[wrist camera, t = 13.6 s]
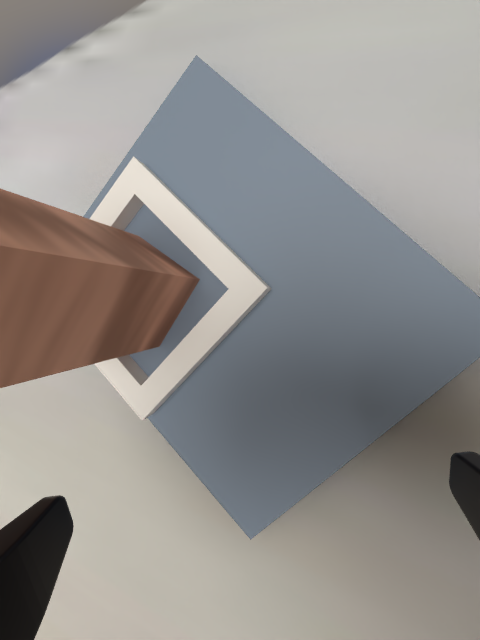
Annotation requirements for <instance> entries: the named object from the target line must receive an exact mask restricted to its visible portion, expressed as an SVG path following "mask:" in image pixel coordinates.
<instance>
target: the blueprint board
mask: <svg viewBox="0 0 480 640" xmlns="http://www.w3.org/2000/svg"><path fill="white" fill-rule="evenodd" d="M84 217H85V218H88V219H91V220H93V221H96V222H99V223H102V224H105V225H108V226H111V227H114V228H117V229H120V230H123V231H126V232H129V233H132V234H134V235H137V236H139V237H141V238H142V239H144V240H145V241H147V242H148V243H149V244H151V245H152V246H154V247H155V248H156V249H158V250H159V251H161V252H162V253H163V254H165V255H166V256H168V257H169V258H170V259H172V260H173V261H175V262H176V263H177V264H179V265H180V266H182V267H183V268H185V269H186V270H187V271H189V272H190V273H192V274H193V275H194V276H196V277H197V278H199V279H200V280H199V282H198V283H197V285H196V287H195V288H194V290H193V292H192V293H191V295H190V297H189V298H188V300H187V302H186V303H185V305H184V307H183V308H182V310H181V312H180V313H179V315H178V317H177V318H176V320H175V322H174V323H173V325H172V327H171V328H170V330H169V331H168V333H167V335H166V336H165V338H164V340H163V341H162V343H161V345H160V346H159V347H156V348H152V349H148V350H145V351H141V352H137V353H133V354H129V355H125V356H122V357H118V358H114V359H110V360H106V361H102V362H99V363H95V365H96V366H97V368H98V369H99V370H100V371H101V372H102V374H103V375H104V376H105V377H106V378H107V380H108V381H109V382H110V383H111V384H112V385H113V387H114V388H115V389H116V390H117V391H118V393H119V394H120V395H121V396H122V397H123V399H124V400H125V401H126V402H127V403H128V405H129V406H130V407H131V408H132V409H133V410H134V412H135V413H136V414H137V415H138V416H139V418H140V419H141V420H144V419H146V418H148V419H149V420H150V421H151V422H152V424H153V425H154V426H155V427H156V428H157V430H158V431H159V432H160V433H161V434H162V435H163V437H164V438H165V439H166V440H167V441H168V443H169V444H170V445H171V446H172V447H173V448H174V450H175V451H176V452H177V453H178V454H179V456H180V457H181V458H182V459H183V460H184V461H185V463H186V464H187V465H188V466H189V467H190V469H191V470H192V471H193V472H194V473H195V474H196V476H197V477H198V478H199V479H200V480H201V482H202V483H203V484H204V485H205V486H206V487H207V489H208V490H209V491H210V492H211V493H212V495H213V496H214V497H215V498H216V499H217V500H218V502H219V503H220V504H221V505H222V506H223V508H224V509H225V510H226V511H227V512H228V513H229V515H230V516H231V517H232V518H233V519H234V521H235V522H236V523H237V524H238V525H239V526H240V528H241V529H242V530H243V531H244V532H245V534H246V535H247V536H248V537H249V538H250V540H251V539H252V538H253V537H254V536H256V535H257V534H258V533H259V532H261V531H262V530H263V529H264V528H266V527H267V526H268V525H270V524H271V523H272V522H273V521H275V520H276V519H277V518H278V517H280V516H281V515H282V514H283V513H285V512H286V511H287V510H288V509H290V508H291V507H292V506H293V505H295V504H296V503H297V502H298V501H300V500H301V499H302V498H303V497H305V496H306V495H307V494H308V493H310V492H311V491H312V490H314V489H315V488H316V487H317V486H319V485H320V484H321V483H322V482H324V481H325V480H326V479H327V478H329V477H330V476H331V475H332V474H334V473H335V472H336V471H337V470H339V469H340V468H341V467H342V466H344V465H345V464H346V463H347V462H349V461H350V460H351V459H353V458H354V457H355V456H356V455H358V454H359V453H360V452H361V451H363V450H364V449H365V448H366V447H368V446H369V445H370V444H371V443H373V442H374V441H375V440H376V439H378V438H379V437H380V436H381V435H383V434H384V433H385V432H386V431H388V430H389V429H390V428H392V427H393V426H394V425H395V424H397V423H398V422H399V421H400V420H402V419H403V418H404V417H405V416H407V415H408V414H409V413H410V412H412V411H413V410H414V409H415V408H417V407H418V406H419V405H420V404H422V403H423V402H424V401H425V400H427V399H428V398H429V397H431V396H432V395H433V394H434V393H436V392H437V391H438V390H439V389H441V388H442V387H443V386H444V385H446V384H447V383H448V382H449V381H451V380H452V379H453V378H454V377H456V376H457V375H458V374H459V373H461V372H462V371H463V370H464V369H466V368H467V367H468V366H470V365H471V364H472V363H473V362H475V361H476V360H477V359H478V358H480V297H479V296H477V295H476V294H475V293H474V292H473V291H472V290H470V289H469V288H468V287H467V286H466V285H465V284H463V283H462V282H461V281H460V280H459V279H458V278H456V277H455V276H454V275H453V274H452V273H451V272H449V271H448V270H447V269H446V268H445V267H444V266H442V265H441V264H440V263H439V262H438V261H437V260H435V259H434V258H433V257H432V256H431V255H430V254H428V253H427V252H426V251H425V250H424V249H422V248H421V247H420V246H419V245H418V244H417V243H415V242H414V241H413V240H412V239H411V238H410V237H408V236H407V235H406V234H405V233H404V232H403V231H401V230H400V229H399V228H398V227H397V226H396V225H394V224H393V223H392V222H391V221H390V220H389V219H387V218H386V217H385V216H384V215H383V214H382V213H380V212H379V211H378V210H377V209H376V208H375V207H373V206H372V205H371V204H370V203H369V202H367V201H366V200H365V199H364V198H363V197H362V196H360V195H359V194H358V193H357V192H356V191H355V190H353V189H352V188H351V187H350V186H349V185H348V184H346V183H345V182H344V181H343V180H342V179H341V178H339V177H338V176H337V175H336V174H335V173H334V172H332V171H331V170H330V169H329V168H328V167H327V166H325V165H324V164H323V163H322V162H321V161H320V160H318V159H317V158H316V157H315V156H314V155H312V154H311V153H310V152H309V151H308V150H307V149H305V148H304V147H303V146H302V145H301V144H300V143H298V142H297V141H296V140H295V139H294V138H293V137H291V136H290V135H289V134H288V133H287V132H286V131H284V130H283V129H282V128H281V127H280V126H279V125H277V124H276V123H275V122H274V121H273V120H272V119H270V118H269V117H268V116H267V115H266V114H265V113H263V112H262V111H261V110H260V109H259V108H257V107H256V106H255V105H254V104H253V103H252V102H250V101H249V100H248V99H247V98H246V97H245V96H243V95H242V94H241V93H240V92H239V91H238V90H236V89H235V88H234V87H233V86H232V85H231V84H229V83H228V82H227V81H226V80H225V79H224V78H222V77H221V76H220V75H219V74H218V73H217V72H215V71H214V70H213V69H212V68H211V67H210V66H208V65H207V64H206V63H205V62H204V61H202V60H201V59H200V58H199V57H198V56H197V55H196V56H195V58H194V59H193V61H192V62H191V63H190V65H189V66H188V68H187V69H186V71H185V72H184V73H183V75H182V76H181V78H180V79H179V81H178V82H177V83H176V85H175V86H174V88H173V89H172V91H171V92H170V93H169V95H168V96H167V98H166V99H165V101H164V102H163V103H162V105H161V106H160V108H159V109H158V111H157V112H156V114H155V115H154V116H153V118H152V119H151V121H150V122H149V124H148V125H147V126H146V128H145V129H144V131H143V132H142V134H141V135H140V136H139V138H138V139H137V141H136V142H135V144H134V145H133V146H132V148H131V149H130V151H129V152H128V154H127V155H126V156H125V158H124V159H123V161H122V162H121V164H120V165H119V166H118V168H117V169H116V171H115V172H114V174H113V175H112V176H111V178H110V179H109V181H108V182H107V184H106V185H105V187H104V188H103V189H102V191H101V192H100V194H99V195H98V197H97V198H96V199H95V201H94V202H93V204H92V205H91V207H90V208H89V209H88V211H87V212H86V214H85V215H84Z"/></svg>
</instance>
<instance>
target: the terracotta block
mask: <svg viewBox="0 0 480 640" xmlns="http://www.w3.org/2000/svg"><path fill="white" fill-rule="evenodd" d="M199 280H200V279H199V278H197V277H196V276H194V275H193V274H192V273H190V272H189V271H187V270H186V269H185V268H183V267H182V266H180V265H179V264H177V263H176V262H175V261H173V260H172V259H170V258H169V257H168V256H166V255H165V254H163V253H162V252H161V251H159V250H158V249H156V248H155V247H154V246H152V245H151V244H149V243H148V242H147V241H145V240H144V239H142V238H141V237H139V236H137V235H134V234H132V233H129V232H126V231H123V230H120V229H117V228H114V227H111V226H108V225H105V224H102V223H99V222H96V221H93V220H91V219H88V218H85V217H82V216H79V215H76V214H73V213H70V212H67V211H64V210H61V209H58V208H55V207H52V206H50V205H47V204H44V203H41V202H38V201H35V200H32V199H29V198H26V197H23V196H20V195H17V194H14V193H11V192H8V191H6V190H3V189H0V388H3V387H6V386H10V385H14V384H18V383H22V382H26V381H29V380H33V379H37V378H41V377H45V376H49V375H52V374H56V373H60V372H64V371H68V370H72V369H76V368H79V367H83V366H87V365H91V364H95V363H99V362H102V361H106V360H110V359H114V358H118V357H122V356H125V355H129V354H133V353H137V352H141V351H145V350H148V349H152V348H156V347H159V346H160V345H161V343H162V341H163V340H164V338H165V336H166V335H167V333H168V331H169V330H170V328H171V327H172V325H173V323H174V322H175V320H176V318H177V317H178V315H179V313H180V312H181V310H182V308H183V307H184V305H185V303H186V302H187V300H188V298H189V297H190V295H191V293H192V292H193V290H194V288H195V287H196V285H197V283H198V282H199Z"/></svg>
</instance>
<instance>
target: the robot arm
mask: <svg viewBox="0 0 480 640" xmlns="http://www.w3.org/2000/svg"><path fill="white" fill-rule="evenodd" d="M449 485H450V489H451V492H452V494H453V496H454V497H455V499H456V501H457V503H458V504H459V506H460V508H461V509H462V511H463V513H464V514H465V516H466V518H467V520H468V521H469V523H470V525H471V526H472V528H473V530H474V531H475V533H476V535H477V537H478V538H479V540H480V455H479V454H477V453H474V452H460V453H455V454H453V455H452V457H451V464H450V478H449ZM72 533H73V520H72V517H71V514H70V511H69V508H68V505H67V502H66V499H65V498H64V497H63V496H50V497H45V498H43V499H41V500H40V501H38V502H37V503H36V504H34V505H33V506H32V507H30V508H29V509H28V510H26V511H25V512H23V513H22V514H21V515H19V516H18V517H17V518H15V519H14V520H13V521H11V522H10V523H9V524H7V525H6V526H5V527H3V528H2V529H1V530H0V640H34V638H35V636H36V634H37V631H38V629H39V627H40V624H41V622H42V619H43V617H44V614H45V612H46V609H47V606H48V604H49V601H50V598H51V595H52V592H53V589H54V586H55V583H56V580H57V578H58V575H59V572H60V569H61V566H62V563H63V560H64V557H65V554H66V551H67V548H68V545H69V542H70V539H71V537H72Z"/></svg>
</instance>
